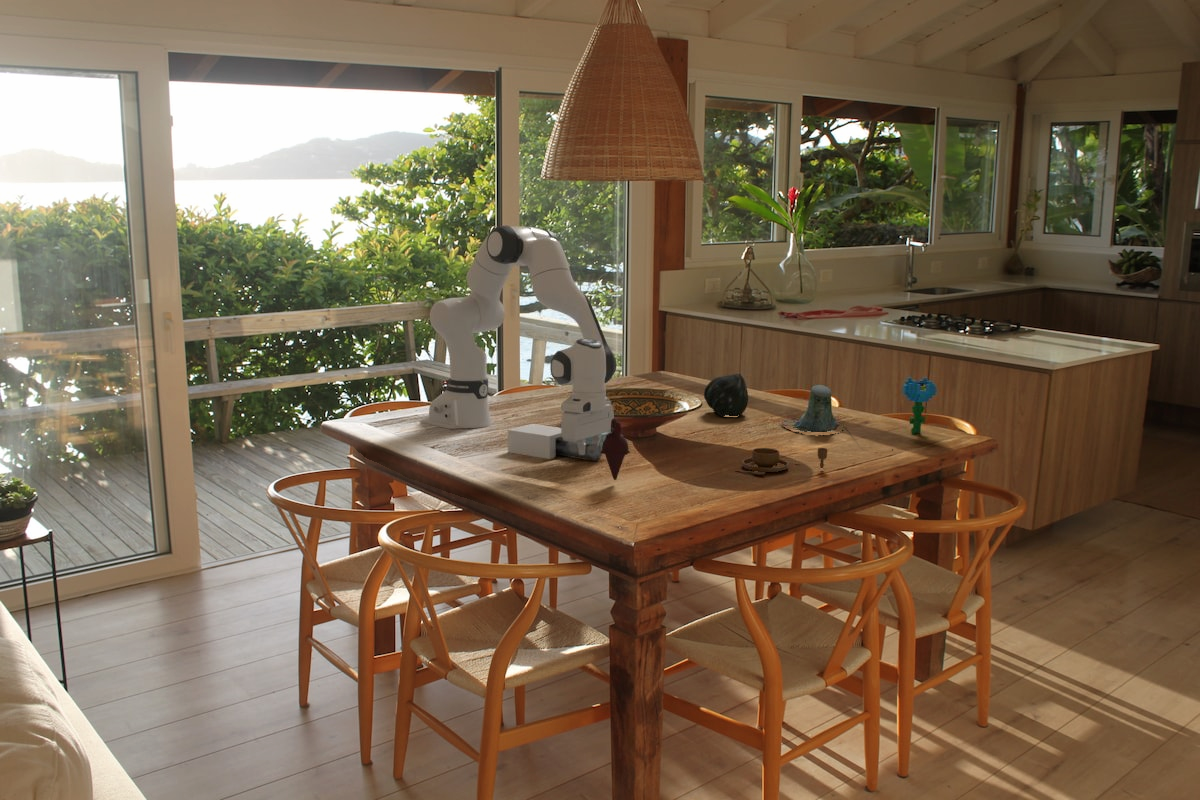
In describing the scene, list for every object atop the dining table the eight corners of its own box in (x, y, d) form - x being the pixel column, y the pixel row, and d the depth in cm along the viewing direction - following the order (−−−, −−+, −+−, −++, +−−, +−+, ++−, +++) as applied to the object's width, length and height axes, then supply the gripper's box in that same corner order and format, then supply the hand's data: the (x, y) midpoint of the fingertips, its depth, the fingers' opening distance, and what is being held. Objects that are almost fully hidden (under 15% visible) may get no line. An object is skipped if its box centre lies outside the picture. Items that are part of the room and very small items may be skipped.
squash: (740, 414, 340) (742, 369, 338) (753, 423, 326) (755, 376, 323) (698, 415, 339) (699, 370, 336) (709, 424, 324) (710, 377, 321)
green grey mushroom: (832, 421, 326) (846, 374, 316) (846, 459, 309) (860, 410, 300) (775, 417, 325) (787, 369, 315) (785, 455, 308) (798, 405, 298)
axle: (550, 454, 278) (550, 440, 278) (558, 452, 282) (558, 438, 281) (593, 461, 271) (593, 446, 270) (601, 459, 274) (602, 444, 273)
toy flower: (927, 436, 309) (931, 377, 306) (935, 443, 300) (939, 382, 297) (897, 435, 310) (900, 376, 307) (904, 442, 301) (908, 381, 298)
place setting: (760, 459, 279) (761, 438, 278) (829, 470, 268) (830, 448, 267) (729, 471, 265) (729, 449, 264) (801, 484, 254) (802, 460, 253)
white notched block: (507, 452, 282) (507, 429, 281) (531, 445, 291) (531, 423, 290) (549, 459, 274) (549, 436, 273) (572, 451, 283) (572, 429, 282)
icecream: (597, 477, 256) (598, 417, 253) (626, 476, 257) (627, 416, 255) (602, 484, 249) (603, 423, 247) (632, 482, 251) (633, 422, 248)
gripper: (600, 394, 282) (600, 444, 284) (556, 405, 265) (556, 458, 267) (620, 397, 278) (619, 447, 281) (577, 408, 261) (577, 461, 264)
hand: (588, 452), depth 274 cm, fingers closed on axle, 4 cm apart
